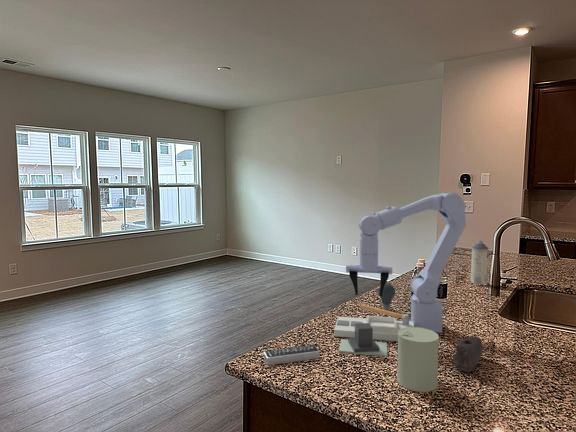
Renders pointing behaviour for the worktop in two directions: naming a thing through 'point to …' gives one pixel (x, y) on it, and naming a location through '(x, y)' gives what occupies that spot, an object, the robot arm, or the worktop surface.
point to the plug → (363, 339)
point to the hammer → (388, 313)
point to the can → (418, 359)
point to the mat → (347, 348)
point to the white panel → (381, 326)
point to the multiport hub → (291, 354)
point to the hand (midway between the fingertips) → (368, 294)
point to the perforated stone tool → (468, 353)
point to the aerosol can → (479, 264)
